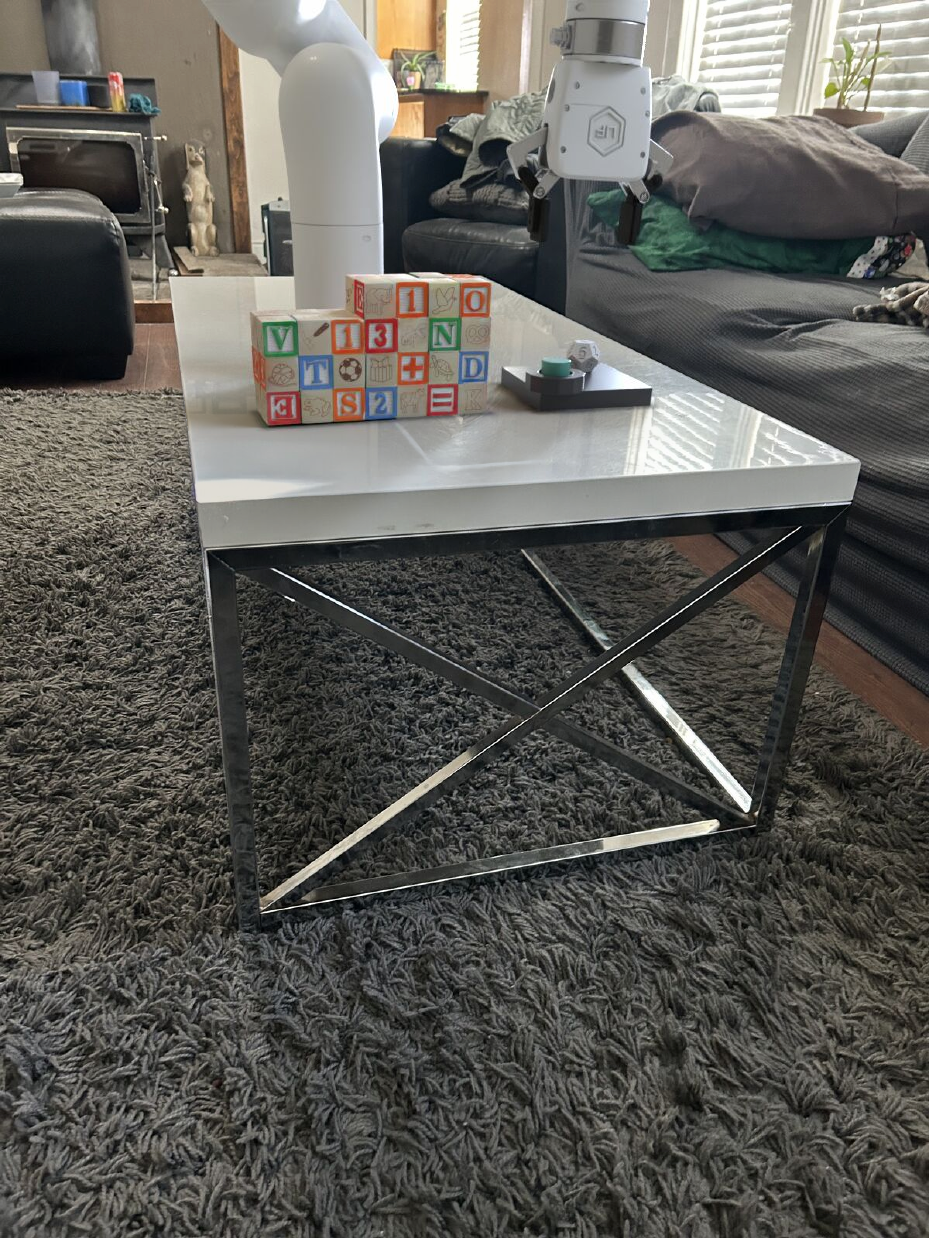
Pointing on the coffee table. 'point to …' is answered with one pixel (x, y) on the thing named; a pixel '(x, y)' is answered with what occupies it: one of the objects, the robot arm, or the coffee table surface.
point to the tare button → (555, 366)
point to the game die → (583, 355)
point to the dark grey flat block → (576, 388)
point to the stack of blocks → (376, 351)
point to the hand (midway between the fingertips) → (582, 242)
